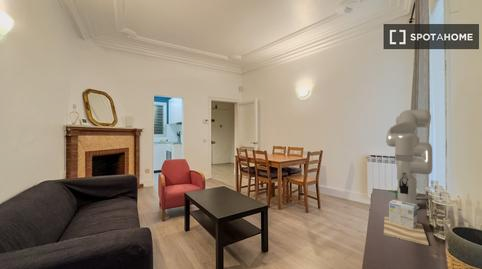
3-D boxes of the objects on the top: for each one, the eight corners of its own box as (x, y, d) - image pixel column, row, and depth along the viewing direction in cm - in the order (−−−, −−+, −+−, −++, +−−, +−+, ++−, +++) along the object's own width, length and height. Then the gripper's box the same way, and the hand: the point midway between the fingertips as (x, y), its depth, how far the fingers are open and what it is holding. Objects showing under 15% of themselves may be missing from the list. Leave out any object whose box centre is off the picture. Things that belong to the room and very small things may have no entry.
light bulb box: (417, 225, 107) (417, 204, 107) (413, 229, 103) (414, 207, 103) (392, 218, 116) (393, 198, 115) (388, 221, 112) (388, 201, 111)
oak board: (384, 218, 118) (384, 216, 118) (421, 225, 109) (421, 224, 109) (383, 234, 100) (383, 232, 100) (428, 245, 91) (428, 243, 91)
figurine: (408, 200, 147) (408, 188, 146) (387, 197, 153) (387, 186, 153) (407, 199, 149) (408, 187, 149) (387, 196, 156) (387, 185, 156)
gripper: (394, 155, 118) (394, 186, 118) (395, 159, 103) (394, 194, 104) (412, 156, 113) (411, 188, 114) (415, 161, 99) (414, 197, 100)
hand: (403, 191), depth 109 cm, fingers open, 9 cm apart
